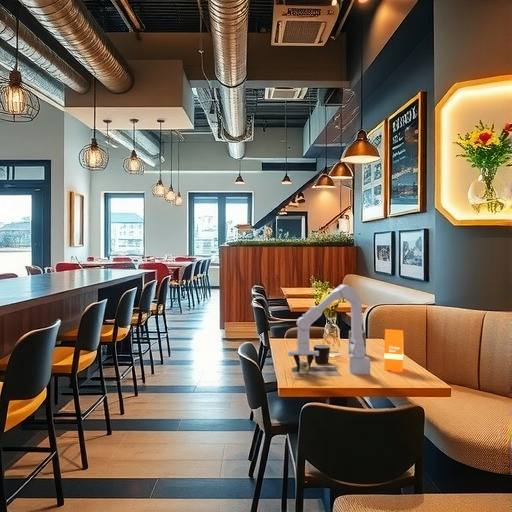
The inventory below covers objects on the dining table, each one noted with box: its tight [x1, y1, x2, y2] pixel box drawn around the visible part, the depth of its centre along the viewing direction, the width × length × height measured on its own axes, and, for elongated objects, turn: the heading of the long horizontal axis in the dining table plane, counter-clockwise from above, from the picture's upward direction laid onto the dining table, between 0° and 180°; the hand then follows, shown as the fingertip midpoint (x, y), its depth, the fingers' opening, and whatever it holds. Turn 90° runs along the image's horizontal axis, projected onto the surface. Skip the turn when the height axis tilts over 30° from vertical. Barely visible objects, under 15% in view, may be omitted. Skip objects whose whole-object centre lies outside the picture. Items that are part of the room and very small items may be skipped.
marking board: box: [290, 365, 342, 378], centre depth 217 cm, size 22×12×3 cm, turn 94°
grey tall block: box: [348, 329, 367, 356], centre depth 263 cm, size 10×10×15 cm
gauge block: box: [299, 359, 309, 374], centre depth 216 cm, size 4×8×5 cm, turn 4°
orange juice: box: [383, 328, 404, 373], centre depth 230 cm, size 8×9×20 cm
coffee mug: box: [312, 344, 331, 365], centre depth 237 cm, size 12×9×10 cm
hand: (303, 370), depth 217 cm, fingers closed on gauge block, 4 cm apart
